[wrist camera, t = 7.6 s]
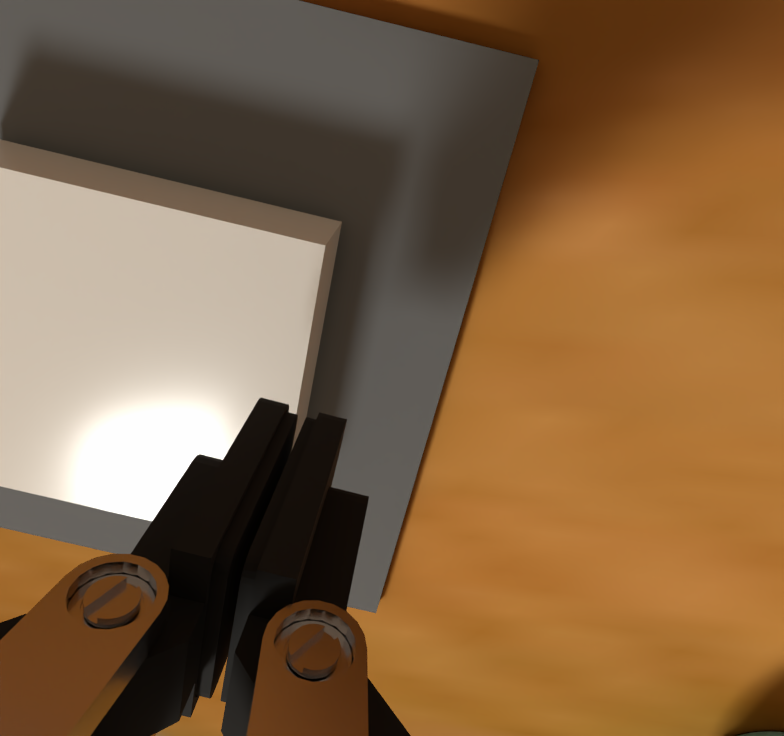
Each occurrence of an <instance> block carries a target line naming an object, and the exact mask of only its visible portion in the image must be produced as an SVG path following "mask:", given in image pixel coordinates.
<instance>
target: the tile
mask: <svg viewBox="0 0 784 736" xmlns="http://www.w3.org/2000/svg"><path fill="white" fill-rule="evenodd" d="M341 224H342V222H341V221H336V220H332V219H328V218H324V217H320V216H316V215H312V214H307V213H303V212H299V211H295V210H291V209H287V208H283V207H278V206H274V205H270V204H266V203H262V202H258V201H254V200H249V199H245V198H241V197H237V196H233V195H229V194H225V193H220V192H216V191H212V190H208V189H204V188H200V187H196V186H191V185H187V184H183V183H179V182H175V181H171V180H167V179H162V178H158V177H154V176H150V175H146V174H142V173H137V172H133V171H129V170H125V169H121V168H117V167H113V166H108V165H104V164H100V163H96V162H92V161H88V160H84V159H79V158H75V157H71V156H67V155H63V154H59V153H55V152H50V151H46V150H42V149H38V148H34V147H30V146H26V145H21V144H17V143H13V142H9V141H5V140H1V139H0V486H1V487H6V488H10V489H14V490H19V491H23V492H27V493H32V494H36V495H40V496H45V497H49V498H54V499H58V500H62V501H67V502H71V503H75V504H80V505H84V506H88V507H93V508H97V509H101V510H106V511H110V512H114V513H119V514H123V515H128V516H132V517H136V518H141V519H145V520H149V521H153V519H154V518H155V516H156V515H157V513H158V512H159V510H160V509H161V507H162V506H163V504H164V503H165V501H166V500H167V498H168V497H169V495H170V494H171V492H172V491H173V489H174V488H175V486H176V485H177V483H178V482H179V480H180V479H181V477H182V476H183V474H184V473H185V471H186V470H187V468H188V467H189V465H190V464H191V462H192V461H193V459H194V458H195V457H196V456H197V455H199V454H201V455H205V456H209V457H213V458H217V459H221V460H223V459H224V457H225V455H226V454H227V452H228V450H229V449H230V447H231V445H232V444H233V442H234V440H235V438H236V437H237V435H238V433H239V432H240V430H241V428H242V427H243V425H244V423H245V422H246V420H247V418H248V416H249V415H250V413H251V411H252V410H253V408H254V406H255V405H256V403H257V401H258V400H259V398H265V399H269V400H273V401H277V402H281V403H285V404H289V413H293V414H297V415H298V420H297V425H296V431H295V436H294V441H293V446H294V444H295V442H296V439H297V437H298V435H299V432H300V430H301V428H302V425H303V423H304V421H305V418H306V417H307V411H308V406H309V400H310V395H311V389H312V384H313V378H314V373H315V367H316V362H317V356H318V351H319V345H320V340H321V334H322V329H323V323H324V318H325V312H326V307H327V301H328V296H329V290H330V285H331V279H332V274H333V268H334V263H335V257H336V252H337V246H338V241H339V235H340V230H341ZM293 446H292V449H293Z"/></svg>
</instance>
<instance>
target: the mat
mask: <svg viewBox="0 0 784 736" xmlns="http://www.w3.org/2000/svg"><path fill="white" fill-rule="evenodd" d="M538 62H539V60H537V59H533V58H529V57H525V56H521V55H517V54H513V53H509V52H504V51H500V50H496V49H492V48H488V47H484V46H480V45H476V44H472V43H468V42H464V41H460V40H456V39H452V38H448V37H444V36H440V35H436V34H432V33H428V32H424V31H420V30H416V29H412V28H408V27H404V26H400V25H396V24H392V23H388V22H384V21H380V20H376V19H372V18H368V17H364V16H360V15H355V14H351V13H347V12H343V11H339V10H335V9H331V8H327V7H323V6H319V5H315V4H311V3H307V2H303V1H299V0H0V139H1V140H5V141H9V142H13V143H17V144H21V145H26V146H30V147H34V148H38V149H42V150H46V151H50V152H55V153H59V154H63V155H67V156H71V157H75V158H79V159H84V160H88V161H92V162H96V163H100V164H104V165H108V166H113V167H117V168H121V169H125V170H129V171H133V172H137V173H142V174H146V175H150V176H154V177H158V178H162V179H167V180H171V181H175V182H179V183H183V184H187V185H191V186H196V187H200V188H204V189H208V190H212V191H216V192H220V193H225V194H229V195H233V196H237V197H241V198H245V199H249V200H254V201H258V202H262V203H266V204H270V205H274V206H278V207H283V208H287V209H291V210H295V211H299V212H303V213H307V214H312V215H316V216H320V217H324V218H328V219H332V220H336V221H341V222H342V224H341V230H340V235H339V241H338V246H337V252H336V257H335V263H334V268H333V274H332V279H331V285H330V290H329V296H328V301H327V307H326V312H325V318H324V323H323V329H322V334H321V340H320V345H319V351H318V356H317V362H316V367H315V373H314V378H313V384H312V389H311V395H310V400H309V406H308V411H307V417H309V418H313V419H317V416H318V414H319V412H321V413H325V414H329V415H333V416H336V417H340V418H344V419H347V423H346V427H345V431H344V436H343V440H342V444H341V448H340V452H339V457H338V461H337V465H336V469H335V473H334V478H333V482H332V486H331V487H333V488H337V489H341V490H345V491H349V492H353V493H357V494H361V495H365V496H369V500H368V505H367V510H366V515H365V520H364V525H363V530H362V535H361V540H360V545H359V550H358V555H357V560H356V565H355V570H354V575H353V580H352V585H351V589H350V594H349V599H348V604H347V607H352V608H356V609H361V610H365V611H369V612H374V613H376V611H377V607H378V604H379V601H380V597H381V594H382V590H383V587H384V584H385V580H386V577H387V573H388V570H389V567H390V563H391V560H392V557H393V553H394V550H395V546H396V543H397V540H398V536H399V533H400V529H401V526H402V523H403V519H404V516H405V512H406V509H407V506H408V502H409V499H410V496H411V492H412V489H413V485H414V482H415V479H416V475H417V472H418V468H419V465H420V462H421V458H422V455H423V452H424V448H425V445H426V441H427V438H428V435H429V431H430V428H431V424H432V421H433V418H434V414H435V411H436V408H437V404H438V401H439V397H440V394H441V391H442V387H443V384H444V380H445V377H446V374H447V370H448V367H449V364H450V360H451V357H452V353H453V350H454V347H455V343H456V340H457V336H458V333H459V330H460V326H461V323H462V320H463V316H464V313H465V309H466V306H467V303H468V299H469V296H470V292H471V289H472V286H473V282H474V279H475V276H476V272H477V269H478V265H479V262H480V259H481V255H482V252H483V248H484V245H485V242H486V238H487V235H488V231H489V228H490V225H491V221H492V218H493V215H494V211H495V208H496V204H497V201H498V198H499V194H500V191H501V187H502V184H503V181H504V177H505V174H506V171H507V167H508V164H509V160H510V157H511V154H512V150H513V147H514V143H515V140H516V137H517V133H518V130H519V127H520V123H521V120H522V116H523V113H524V110H525V106H526V103H527V99H528V96H529V93H530V89H531V86H532V83H533V79H534V76H535V72H536V69H537V66H538ZM151 522H152V521H149V520H145V519H141V518H136V517H132V516H128V515H123V514H119V513H114V512H110V511H106V510H101V509H97V508H93V507H88V506H84V505H80V504H75V503H71V502H67V501H62V500H58V499H54V498H49V497H45V496H40V495H36V494H32V493H27V492H23V491H19V490H14V489H10V488H6V487H1V486H0V527H2V528H6V529H10V530H15V531H19V532H23V533H28V534H32V535H37V536H41V537H45V538H50V539H54V540H59V541H63V542H67V543H72V544H76V545H80V546H85V547H89V548H94V549H98V550H102V551H107V552H111V553H115V554H131V552H132V551H133V549H134V548H135V546H136V545H137V543H138V542H139V540H140V539H141V537H142V536H143V534H144V533H145V531H146V530H147V528H148V527H149V525H150V524H151Z"/></svg>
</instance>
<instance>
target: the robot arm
mask: <svg viewBox="0 0 784 736" xmlns="http://www.w3.org/2000/svg"><path fill="white" fill-rule="evenodd" d="M297 420H298V415H297V414H293V413H289V404H285V403H281V402H277V401H273V400H269V399H265V398H259V400H258V401H257V403H256V405H255V406H254V408H253V410H252V411H251V413H250V415H249V416H248V418H247V420H246V422H245V423H244V425H243V427H242V428H241V430H240V432H239V433H238V435H237V437H236V438H235V440H234V442H233V444H232V445H231V447H230V449H229V450H228V452H227V454H226V455H225V457H224V459H223V460H221V459H217V458H213V457H209V456H205V455H201V454H199V455H197V456H196V457H195V458H194V459H193V461H192V462H191V464H190V465H189V467H188V468H187V470H186V471H185V473H184V474H183V476H182V477H181V479H180V480H179V482H178V483H177V485H176V486H175V488H174V489H173V491H172V492H171V494H170V495H169V497H168V498H167V500H166V501H165V503H164V504H163V506H162V507H161V509H160V510H159V512H158V513H157V515H156V516H155V518H154V519H153V521H152V522H151V524H150V525H149V527H148V528H147V530H146V531H145V533H144V534H143V536H142V537H141V539H140V540H139V542H138V543H137V545H136V546H135V548H134V549H133V551H132V552H131V554H110V555H105V556H100V557H96V558H93V559H91V560H89V561H87V562H84V563H82V564H80V565H78V566H77V567H76V568H74V569H73V570H72V571H71V572H69V573H68V574H67V575H65V576H64V577H63V578H62V579H61V580H60V581H59V582H58V583H57V584H56V585H55V586H54V587H53V588H52V589H51V590H50V591H49V592H48V593H47V594H46V595H45V596H44V597H43V598H42V599H41V600H40V601H39V602H38V603H37V604H36V605H35V606H34V607H33V608H32V609H31V610H30V611H29V612H28V613H27V614H24V615H21V616H19V617H16V618H13V619H10V620H7V621H4V622H2V623H0V736H155V735H156V733H157V732H159V731H161V730H163V729H165V728H167V727H168V726H170V725H172V724H174V723H176V722H178V721H179V720H180V717H181V715H183V716H187V717H191V715H192V713H193V710H194V708H195V705H196V703H197V700H198V698H199V696H202V697H207V698H211V697H212V695H213V693H214V690H215V688H216V685H217V683H218V680H219V678H220V675H221V672H222V670H223V667H224V665H225V662H226V659H227V657H228V659H227V665H226V671H225V677H224V683H223V689H222V695H221V701H223V702H226V706H225V712H224V718H223V723H222V729H221V732H222V734H223V736H410V734H409V733H408V732H407V730H406V729H405V728H404V726H403V725H402V723H401V722H400V721H399V719H398V718H397V717H396V715H395V714H394V713H393V711H392V710H391V709H390V707H389V706H388V705H387V703H386V702H385V700H384V699H383V698H382V696H381V695H380V694H379V692H378V691H377V690H376V688H375V687H374V686H373V684H372V683H371V681H370V680H369V679H368V674H367V646H366V640H365V635H364V633H363V631H362V629H361V628H360V626H359V624H358V622H357V621H356V620H355V619H354V618H353V617H352V616H351V615H350V614H349V613H348V612H347V611H346V609H347V604H348V599H349V594H350V589H351V585H352V580H353V575H354V570H355V565H356V560H357V555H358V550H359V545H360V540H361V535H362V530H363V525H364V520H365V515H366V510H367V505H368V500H369V496H365V495H361V494H357V493H353V492H349V491H345V490H341V489H337V488H333V487H331V486H332V482H333V478H334V473H335V469H336V465H337V461H338V457H339V452H340V448H341V444H342V440H343V436H344V431H345V427H346V423H347V419H344V418H340V417H336V416H333V415H329V414H325V413H321V412H319V414H318V416H317V419H313V418H309V417H306V418H305V421H304V423H303V425H302V428H301V430H300V432H299V435H298V437H297V439H296V442H295V444H294V446H293V441H294V436H295V431H296V425H297ZM292 446H293V449H292Z"/></svg>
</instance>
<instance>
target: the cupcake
mask: <svg viewBox="0 0 784 736" xmlns="http://www.w3.org/2000/svg"><path fill="white" fill-rule="evenodd" d="M738 736H784V732H776V731H764V732H753V733H747V734H742V735H738Z"/></svg>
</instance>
